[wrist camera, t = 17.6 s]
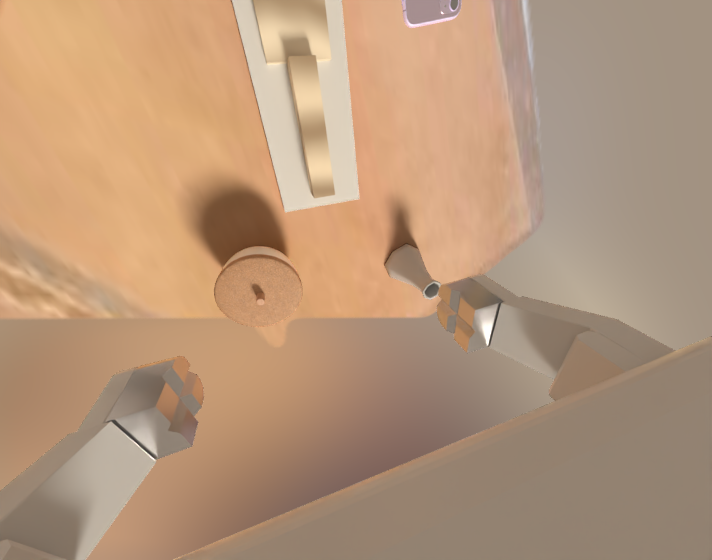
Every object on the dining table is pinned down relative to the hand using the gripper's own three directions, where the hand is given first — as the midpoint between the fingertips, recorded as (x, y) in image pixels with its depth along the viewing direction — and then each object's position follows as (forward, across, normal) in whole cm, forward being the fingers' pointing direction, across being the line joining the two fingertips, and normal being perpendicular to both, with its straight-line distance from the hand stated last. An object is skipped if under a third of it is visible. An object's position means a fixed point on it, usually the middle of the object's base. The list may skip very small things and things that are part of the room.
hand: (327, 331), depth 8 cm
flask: (+31, -18, +17) cm, 40 cm away
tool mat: (+31, -5, -9) cm, 33 cm away
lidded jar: (+31, +6, +12) cm, 34 cm away
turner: (+30, -5, -8) cm, 32 cm away
